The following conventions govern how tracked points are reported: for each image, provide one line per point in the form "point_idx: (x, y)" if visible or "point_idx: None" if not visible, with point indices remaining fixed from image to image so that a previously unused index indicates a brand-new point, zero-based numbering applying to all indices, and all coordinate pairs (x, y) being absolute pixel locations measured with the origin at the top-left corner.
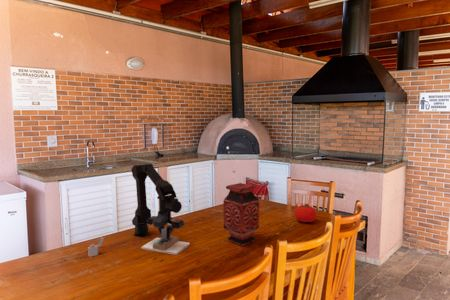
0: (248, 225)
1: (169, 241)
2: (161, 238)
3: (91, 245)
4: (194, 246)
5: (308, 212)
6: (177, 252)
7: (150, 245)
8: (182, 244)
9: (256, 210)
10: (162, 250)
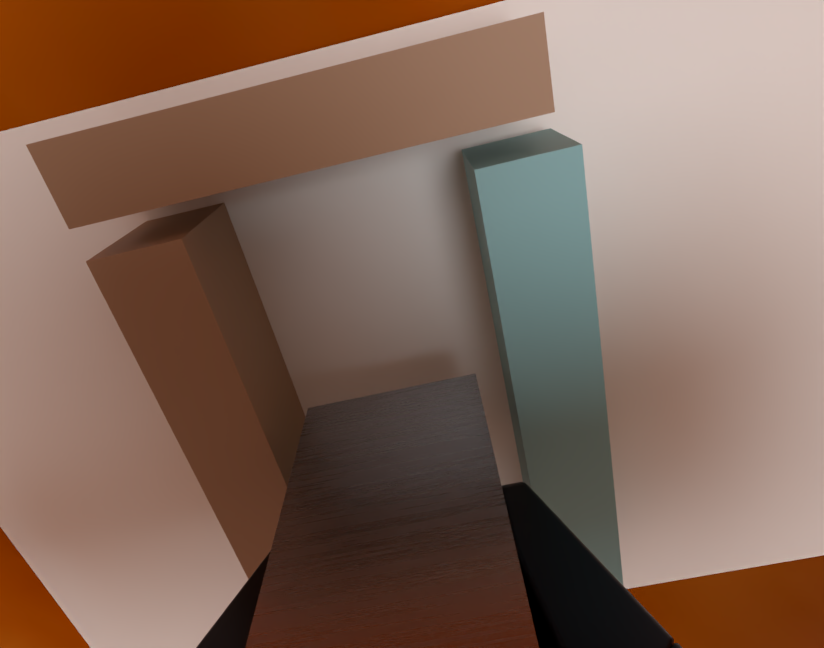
0: None
1: (274, 485)
2: (486, 439)
3: None
4: (7, 634)
5: None
6: None
7: (724, 156)
8: (138, 578)
9: None
10: (171, 92)
